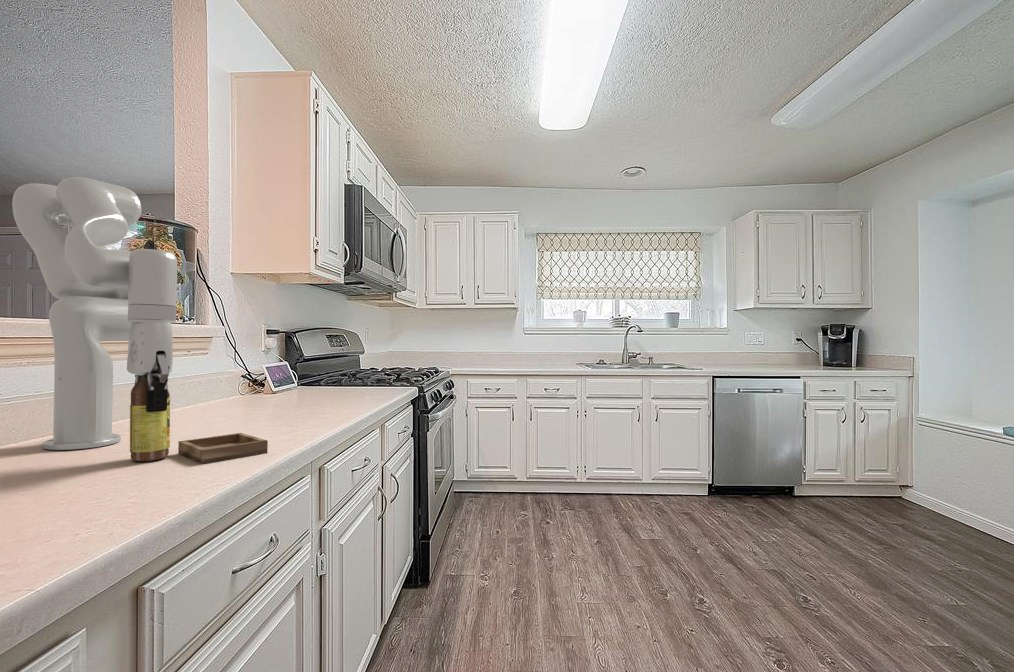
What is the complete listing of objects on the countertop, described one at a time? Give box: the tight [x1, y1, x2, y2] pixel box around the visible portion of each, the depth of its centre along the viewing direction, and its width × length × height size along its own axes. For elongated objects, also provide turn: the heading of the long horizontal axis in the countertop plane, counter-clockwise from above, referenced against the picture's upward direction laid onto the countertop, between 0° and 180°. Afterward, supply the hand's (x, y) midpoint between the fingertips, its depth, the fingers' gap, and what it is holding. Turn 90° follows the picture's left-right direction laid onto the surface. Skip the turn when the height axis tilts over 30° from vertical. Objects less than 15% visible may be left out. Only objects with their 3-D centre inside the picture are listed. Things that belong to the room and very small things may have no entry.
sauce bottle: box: [129, 371, 171, 463], centre depth 94 cm, size 7×6×20 cm
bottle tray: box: [177, 432, 268, 465], centre depth 99 cm, size 12×12×2 cm
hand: (150, 408), depth 94 cm, fingers closed on sauce bottle, 6 cm apart
